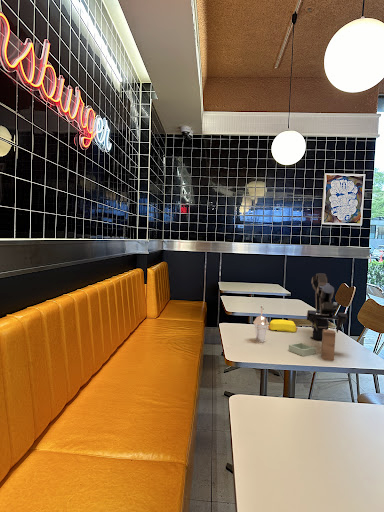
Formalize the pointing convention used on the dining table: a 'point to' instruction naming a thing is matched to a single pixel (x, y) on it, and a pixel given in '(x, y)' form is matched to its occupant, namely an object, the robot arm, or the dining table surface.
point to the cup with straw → (260, 327)
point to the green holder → (302, 349)
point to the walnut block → (328, 344)
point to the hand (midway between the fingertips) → (327, 331)
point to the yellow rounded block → (283, 325)
